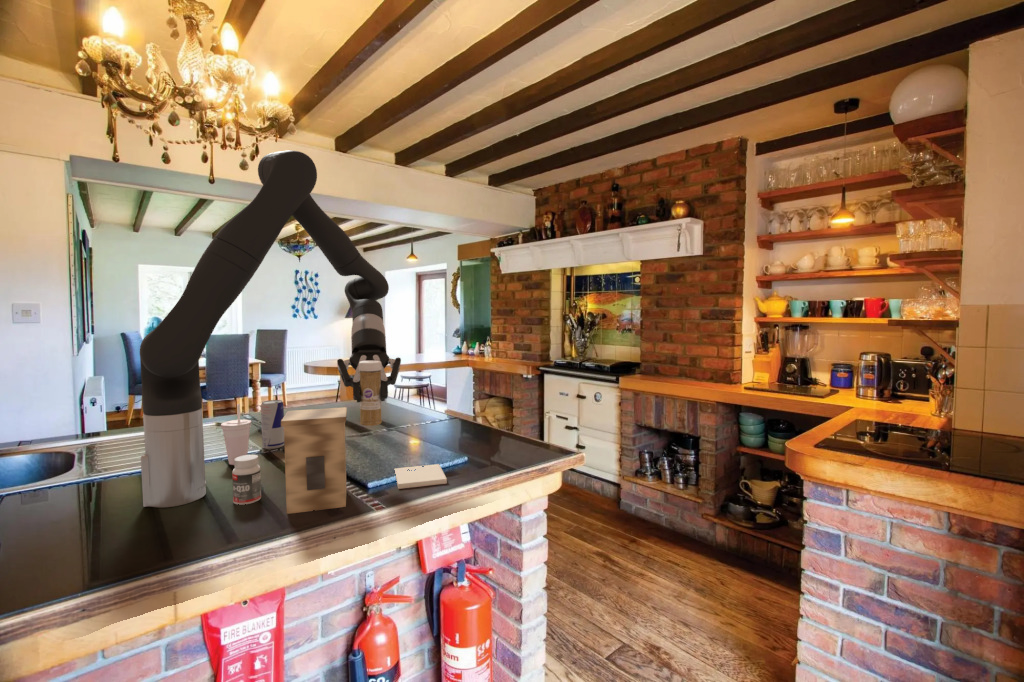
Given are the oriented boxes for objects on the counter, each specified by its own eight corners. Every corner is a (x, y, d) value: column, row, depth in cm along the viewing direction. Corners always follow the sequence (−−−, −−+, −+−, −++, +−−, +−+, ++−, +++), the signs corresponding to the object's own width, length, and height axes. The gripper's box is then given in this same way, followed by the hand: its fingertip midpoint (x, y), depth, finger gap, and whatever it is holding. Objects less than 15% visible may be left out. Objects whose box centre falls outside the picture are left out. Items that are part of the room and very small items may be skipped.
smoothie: (251, 464, 113) (249, 406, 112) (219, 468, 111) (217, 408, 110) (254, 456, 119) (252, 401, 118) (224, 459, 117) (222, 402, 116)
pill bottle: (227, 504, 90) (225, 460, 90) (244, 494, 95) (243, 453, 94) (250, 506, 90) (248, 462, 89) (266, 496, 94) (265, 454, 94)
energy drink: (289, 445, 129) (287, 401, 128) (270, 450, 124) (268, 404, 123) (277, 442, 132) (275, 399, 131) (258, 447, 127) (256, 402, 126)
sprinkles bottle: (359, 427, 100) (358, 362, 99) (360, 421, 104) (358, 360, 103) (382, 425, 101) (381, 361, 100) (381, 420, 105) (381, 359, 104)
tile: (398, 488, 98) (398, 484, 98) (394, 472, 108) (394, 468, 107) (446, 483, 101) (446, 478, 101) (439, 468, 111) (438, 464, 111)
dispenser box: (284, 515, 86) (280, 421, 84) (290, 496, 94) (287, 410, 93) (348, 507, 89) (345, 416, 88) (348, 490, 97) (346, 407, 96)
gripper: (334, 327, 106) (333, 391, 95) (401, 326, 110) (407, 387, 100) (336, 349, 111) (335, 411, 101) (399, 347, 116) (404, 407, 105)
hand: (371, 399), depth 100 cm, fingers closed on sprinkles bottle, 4 cm apart
